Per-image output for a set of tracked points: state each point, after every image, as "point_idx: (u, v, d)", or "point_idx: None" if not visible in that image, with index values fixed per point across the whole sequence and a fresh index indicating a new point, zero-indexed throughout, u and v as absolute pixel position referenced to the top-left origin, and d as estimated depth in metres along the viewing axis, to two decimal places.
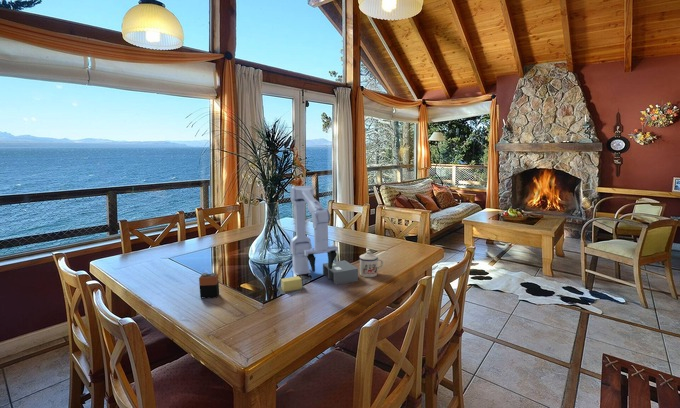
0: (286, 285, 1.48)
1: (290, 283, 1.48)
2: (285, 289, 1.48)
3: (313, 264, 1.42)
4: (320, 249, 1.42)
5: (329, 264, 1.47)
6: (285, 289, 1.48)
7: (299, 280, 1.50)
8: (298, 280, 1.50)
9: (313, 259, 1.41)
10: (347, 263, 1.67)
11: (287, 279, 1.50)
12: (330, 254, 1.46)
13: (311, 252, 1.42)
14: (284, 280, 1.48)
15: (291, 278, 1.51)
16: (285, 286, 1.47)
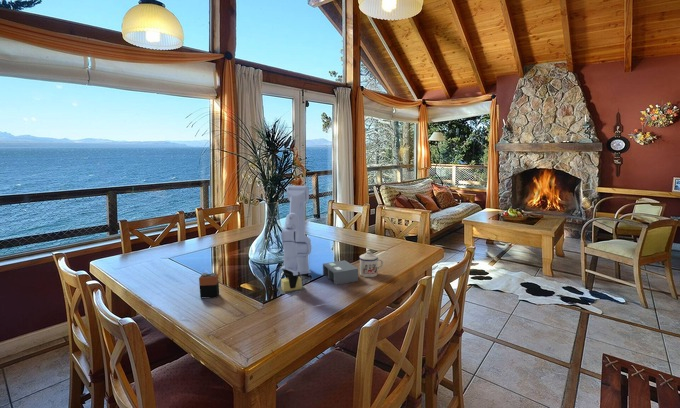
0: (286, 285, 1.48)
1: None
2: (285, 289, 1.48)
3: None
4: None
5: None
6: (285, 289, 1.48)
7: (299, 280, 1.50)
8: (298, 280, 1.50)
9: None
10: (347, 263, 1.67)
11: (287, 279, 1.50)
12: None
13: None
14: (284, 280, 1.48)
15: None
16: (285, 286, 1.47)
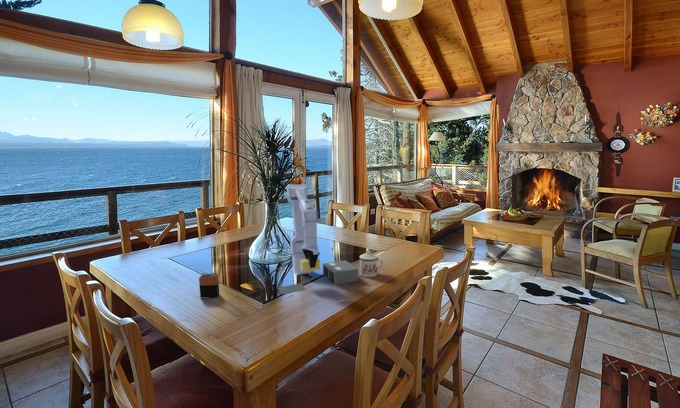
0: (305, 266, 1.50)
1: (309, 264, 1.51)
2: (304, 269, 1.50)
3: (305, 257, 1.55)
4: None
5: None
6: (304, 270, 1.50)
7: (318, 261, 1.52)
8: (317, 261, 1.52)
9: (303, 252, 1.54)
10: (347, 263, 1.67)
11: (306, 260, 1.52)
12: None
13: None
14: (303, 261, 1.50)
15: None
16: (304, 267, 1.50)
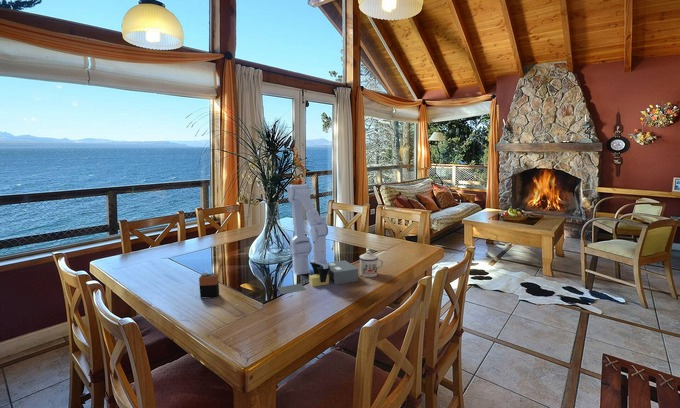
0: (314, 281, 1.53)
1: (318, 280, 1.54)
2: (313, 285, 1.53)
3: (313, 269, 1.59)
4: None
5: None
6: None
7: (327, 277, 1.55)
8: None
9: (311, 264, 1.58)
10: (347, 263, 1.67)
11: (315, 276, 1.55)
12: None
13: None
14: (313, 277, 1.53)
15: (318, 274, 1.56)
16: (313, 282, 1.53)
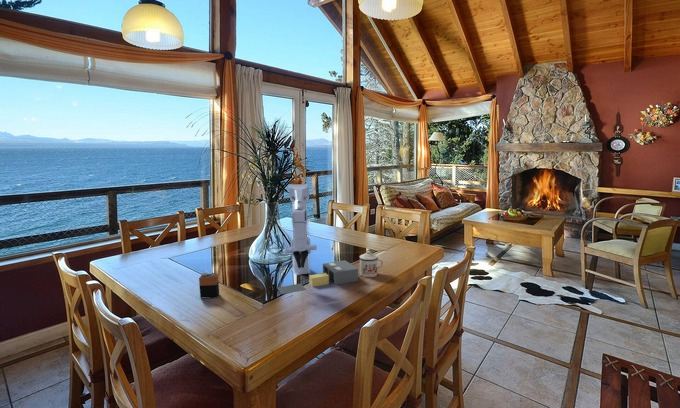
0: (314, 281, 1.53)
1: (318, 280, 1.54)
2: (313, 285, 1.53)
3: (299, 261, 1.49)
4: (298, 247, 1.47)
5: (302, 263, 1.51)
6: (313, 285, 1.53)
7: (327, 277, 1.55)
8: (326, 277, 1.55)
9: (299, 256, 1.48)
10: (347, 263, 1.67)
11: (315, 276, 1.55)
12: (302, 253, 1.50)
13: (290, 250, 1.47)
14: (312, 277, 1.53)
15: (318, 274, 1.56)
16: (313, 282, 1.53)
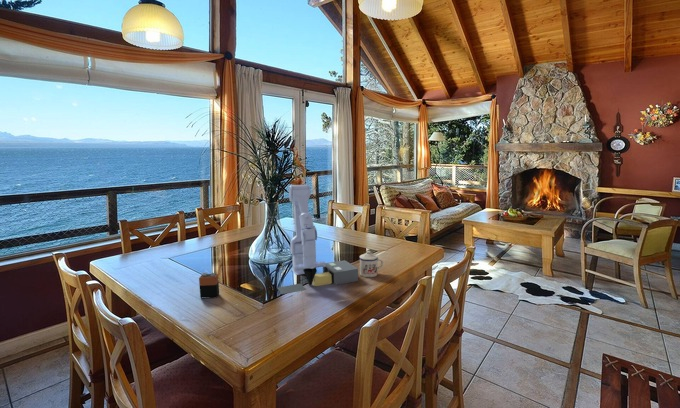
0: (317, 280, 1.54)
1: (321, 279, 1.54)
2: (316, 284, 1.54)
3: (309, 278, 1.52)
4: (308, 265, 1.50)
5: None
6: (316, 284, 1.54)
7: (329, 276, 1.56)
8: (328, 276, 1.55)
9: (309, 273, 1.51)
10: (347, 263, 1.67)
11: (318, 275, 1.56)
12: (310, 270, 1.53)
13: (299, 268, 1.50)
14: (315, 276, 1.54)
15: (321, 274, 1.57)
16: (316, 281, 1.54)
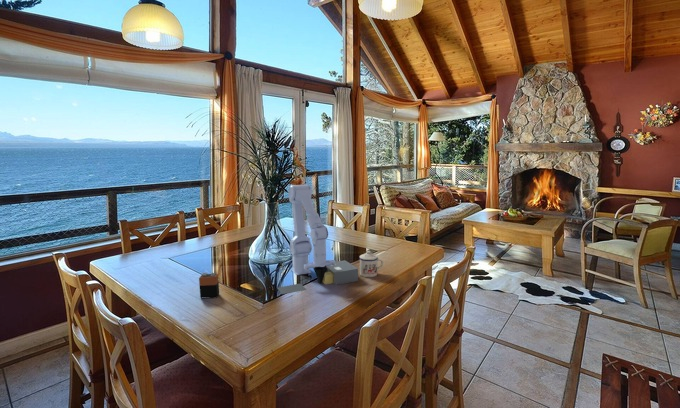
0: (327, 279, 1.56)
1: (331, 277, 1.56)
2: (326, 282, 1.56)
3: (319, 276, 1.54)
4: (318, 263, 1.52)
5: None
6: (326, 283, 1.56)
7: None
8: None
9: (319, 271, 1.53)
10: (347, 263, 1.67)
11: (328, 273, 1.58)
12: (321, 269, 1.55)
13: (310, 266, 1.52)
14: (325, 274, 1.56)
15: (331, 272, 1.59)
16: (326, 280, 1.56)
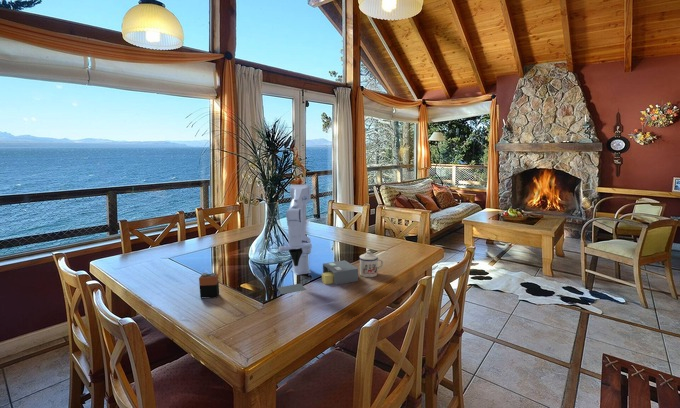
0: (327, 279, 1.56)
1: (331, 277, 1.56)
2: (326, 283, 1.56)
3: (295, 259, 1.50)
4: (293, 245, 1.49)
5: (296, 261, 1.52)
6: (326, 283, 1.56)
7: None
8: None
9: (294, 254, 1.49)
10: (347, 263, 1.67)
11: (328, 273, 1.58)
12: (296, 251, 1.51)
13: (285, 248, 1.48)
14: (325, 275, 1.56)
15: (331, 272, 1.59)
16: (326, 280, 1.56)
